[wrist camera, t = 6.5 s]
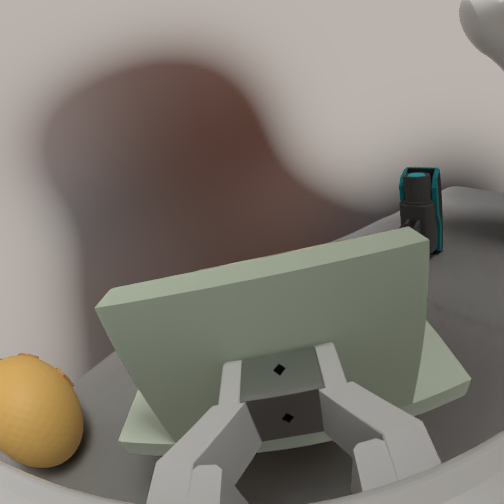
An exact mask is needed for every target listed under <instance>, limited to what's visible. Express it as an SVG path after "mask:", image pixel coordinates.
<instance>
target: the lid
mask: <svg viewBox="0 0 504 504" xmlns="http://www.w3.org/2000/svg"><path fill="white" fill-rule="evenodd" d="M428 286H429V239H427V238H426V237H424V236H423V235H421V234H420V233H418V232H417V231H415V230H414V229H412V228H411V227H404V228H399V229H395V230H390V231H386V232H381V233H376V234H372V235H367V236H363V237H358V238H353V239H349V240H344V241H339V242H335V243H330V244H325V245H320V246H316V247H311V248H306V249H302V250H297V251H292V252H287V253H283V254H278V255H273V256H268V257H264V258H259V259H254V260H249V261H244V262H239V263H235V264H230V265H225V266H220V267H215V268H210V269H206V270H201V271H196V272H191V273H186V274H181V275H176V276H171V277H166V278H162V279H157V280H151V281H146V282H141V283H136V284H131V285H127V286H121V287H116V288H111V289H110V290H109V291H108V293H107V294H106V295H105V296H104V297H103V299H102V300H101V301H100V302H99V303H98V305H97V306H96V307H95V310H96V313H97V315H98V317H99V318H100V321H101V323H102V325H103V327H104V329H105V331H106V333H107V335H108V337H109V339H110V340H111V342H112V344H113V346H114V348H115V350H116V352H117V353H118V355H119V357H120V359H121V361H122V362H123V364H124V366H125V368H126V369H127V371H128V373H129V374H130V376H131V378H132V379H133V381H134V383H135V384H136V386H137V388H138V391H137V394H136V396H135V399H134V401H133V404H132V406H131V409H130V411H129V414H128V416H127V419H126V421H125V424H124V427H123V429H122V432H121V435H120V437H119V440H118V442H119V443H120V444H121V445H122V446H123V447H124V449H125V450H126V451H127V452H128V453H129V454H141V455H156V456H163V455H164V454H165V453H167V452H168V451H169V450H170V449H171V448H172V447H173V446H174V445H175V444H176V443H177V442H178V441H179V440H180V439H181V438H182V437H183V436H184V435H185V434H186V433H187V432H188V431H189V430H190V429H191V428H192V427H193V426H194V425H195V424H196V423H197V422H198V421H199V420H200V418H201V417H202V416H203V415H204V414H205V413H206V412H207V411H208V410H209V409H210V408H211V407H212V406H216V405H218V401H219V393H220V385H221V377H222V369H223V365H224V363H225V362H230V361H238V360H243V359H250V358H257V357H264V356H270V355H276V354H282V353H287V352H292V351H297V350H302V349H306V348H311V347H314V346H317V345H321V344H325V343H329V342H332V343H334V346H335V348H336V351H337V354H338V357H339V360H340V363H341V366H342V369H343V372H344V375H345V378H346V380H347V383H348V382H352V381H353V382H355V383H356V384H358V385H360V386H361V387H363V388H365V389H366V390H368V391H370V392H372V393H373V394H375V395H377V396H378V397H380V398H382V399H384V400H385V401H387V402H389V403H391V404H392V405H394V406H396V407H398V408H399V409H401V410H403V411H405V412H406V413H408V414H410V415H412V416H417V415H419V414H422V413H425V412H427V411H430V410H432V409H435V408H437V407H439V406H442V405H444V404H446V403H449V402H451V401H453V400H455V399H458V398H460V397H462V396H464V395H466V393H467V390H468V387H469V385H470V382H471V377H470V376H469V375H468V373H467V372H466V371H465V369H464V368H463V366H462V365H461V364H460V362H459V361H458V360H457V358H456V357H455V356H454V354H453V353H452V352H451V350H450V349H449V348H448V346H447V345H446V344H445V343H444V341H443V340H442V339H441V337H440V336H439V335H438V334H437V332H436V331H435V330H434V329H433V327H432V326H431V325H430V324H429V322H428V321H427V320H426V314H427V302H428ZM328 441H332V439H331V438H330V437H329V436H328V435H326V434H325V433H324V431H322V432H317V433H311V434H305V435H299V436H292V437H287V438H281V439H275V440H269V441H263V442H262V445H261V446H260V448H259V449H258V451H257V453H260V452H268V451H276V450H283V449H290V448H296V447H302V446H308V445H313V444H318V443H323V442H328Z"/></svg>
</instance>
